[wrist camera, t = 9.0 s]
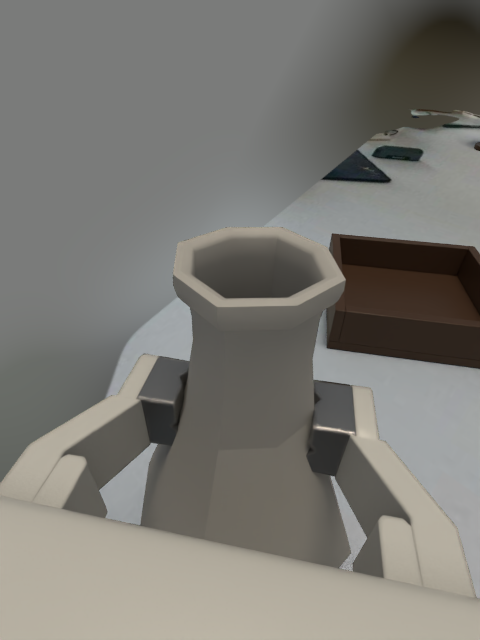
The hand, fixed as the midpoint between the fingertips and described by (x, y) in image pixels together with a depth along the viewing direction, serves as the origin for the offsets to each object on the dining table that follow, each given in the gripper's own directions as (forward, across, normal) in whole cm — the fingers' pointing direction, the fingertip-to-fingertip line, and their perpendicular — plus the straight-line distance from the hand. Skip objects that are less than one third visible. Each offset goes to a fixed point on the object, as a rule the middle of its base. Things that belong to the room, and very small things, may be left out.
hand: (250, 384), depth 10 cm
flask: (-1, 0, +6) cm, 6 cm away
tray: (+24, -12, +13) cm, 30 cm away
